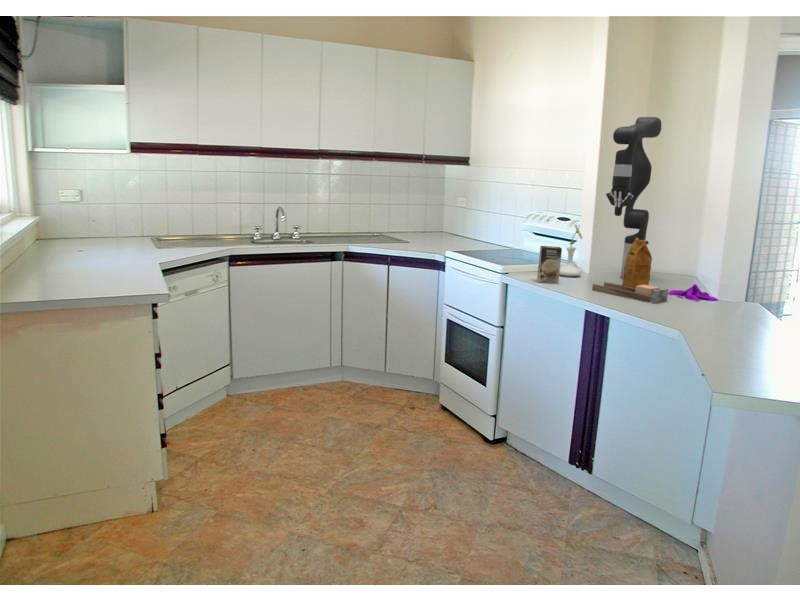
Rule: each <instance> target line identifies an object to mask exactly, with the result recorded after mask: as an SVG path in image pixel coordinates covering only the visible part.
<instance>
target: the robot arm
mask: <svg viewBox="0 0 800 600" xmlns="http://www.w3.org/2000/svg"><path fill="white" fill-rule="evenodd" d="M661 131H662V121H661V119H660V117H656V116H640V117H637V118H636V121H635V124H631V125H629V126H619V127H617V128H615V130H614V132H613V134H612V140H613V142H615V144H617V145H628V146H627V147H626V148H624V149H620V150H617V151H616V152H615V160H614V166H613V167H614V168H613V173H612V180H611V181H612V184H611V186H612V188H610V189H611V190H610V191H609V192H607V193H606V194H605V195H606V198H607V199H608V201H609V203H610V205H611V206H614V212H613V214H614V216H616V217H620V216H621V215H622V214H623V208H624V207H625V210H624V214H623V226H624V228H625V229H631V230H632V229H633V230H635V229H636V230H638V232H636V233H634V234H630V235H626V236H625V237H624V243H623V252H622V261H621V270H620V279H622V280H623V275H624V266H625V262H626V258H627V254H628V252H629V250H630V248H631V246H632V244H633V242H634V241H635V239H636V238H638V239H639V240H645V241H646V237H647V231H648V226H649V225H648V224H649V219H650V213H649V211H648V210H647V209H639V208H638V209H637V208H634V206H635V203H636V201H637V200H638V198H639V197H640V195H641V194H642V193H643V192H644V190H645V189H646V188H647V187H648V186H649V184H650V182H651V175H652V163H651V161H650V159H649V157H648V156H647V153H646V152H645V149H644V144H643V143H644V142H643V139H647V138H650V139H651V138H656V137H659V136H660V133H661Z"/></svg>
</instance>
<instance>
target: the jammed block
mask: <svg viewBox="0 0 800 600" xmlns="http://www.w3.org/2000/svg"><path fill="white" fill-rule="evenodd" d="M658 289H660V287H658V286H653V285H639V286H636V289H635V293H640V294H644V295H649V296H651V293H652V291H653V290H658Z"/></svg>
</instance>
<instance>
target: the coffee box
mask: <svg viewBox="0 0 800 600" xmlns="http://www.w3.org/2000/svg"><path fill="white" fill-rule="evenodd" d="M562 252H563V248H562V247H560V246H553V245H552V246H547V245H540V248H539V256H538V265H537V267H538V269H537V277H536V280H537V282H538V283H545V284H546V283H547V284H559V281H560V274H559V272H560V267H561V262H562V260H561V259H562Z"/></svg>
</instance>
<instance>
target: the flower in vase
mask: <svg viewBox="0 0 800 600" xmlns="http://www.w3.org/2000/svg"><path fill="white" fill-rule="evenodd" d="M574 227H575V233H574V234H573V235H572V238H571V241H570V242H569V245H570V246H566V247H565V248H566V250H567V261H566V263H565V264H563V265H562V266H560V272H559V276H560V275H561V276H565V277H577V276H580V275H581V274H582V271H581V270H580V269H579V268H578V267H577V266H576V265H575V264H574V261H573V259H574V253H575V250H577V247H575V246H573V245H575V241H574V237H575V235H576V234H578V236H579V238H580V239H583V236H582V233H581V232H580V229H579V227H578V225H577V223H575V224H574Z"/></svg>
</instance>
